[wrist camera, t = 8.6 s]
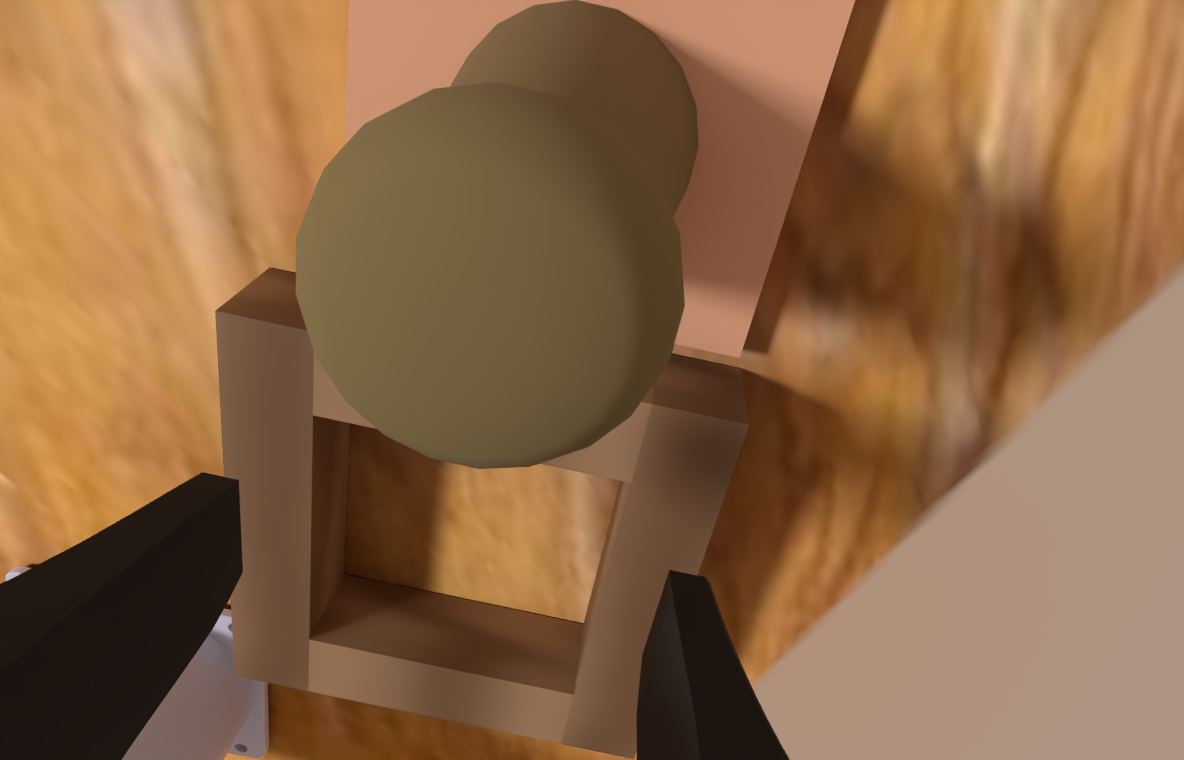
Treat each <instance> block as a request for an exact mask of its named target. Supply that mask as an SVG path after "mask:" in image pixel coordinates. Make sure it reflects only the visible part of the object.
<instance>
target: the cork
mask: <svg viewBox="0 0 1184 760" xmlns="http://www.w3.org/2000/svg"><path fill="white" fill-rule="evenodd" d="M697 151H698V128H697V108H696V103H695V101H694V98H693V96H692V93H691V90H690V88H689V85H688V82H687V80H686V77H685V74H684V72H683V69H682V67H681V65H680V64H679V63H678V61H677V60H676V59H675V58H674V56H673V55H672V54H671V53H670V51H669V50H668V49H667V48H666V46H665V45H664V44H663V43H662V42H661V40H660V39H659V38H658V37H657V35H656V34H655V33H654V32H653V31H651V30H650V29H648V28H646V27H645V26H643V25H642V24H640V23H639V22H637V21H635V20H634V19H632V18H631V17H629V16H627V15H626V14H624V13H623V12H621V11H620V10H618V9H614V8H610V7H605V6H601V5H597V4H592V3H588V2H583V1H579V0H570V1H562V2H554V3H546V4H538V5H533V6H531V7H529V8H527V9H525V10H523V11H521V12H519V13H518V14H516V15H514V16H512V17H510V18H508V19H506V20H504V21H502V22H500V23H498V24H497V25H496V26H495V27H494V28H493V29H492V30H491V31H490V32H489V33H488V34H487V35H486V36H485V38H484V39H483V40H482V41H481V42H480V43H479V44H478V45H477V46H476V47H475V48H474V49H473V50H472V52H471V53H470V54H469V55H468V57H467V58H466V60H465V62H464V63H463V65H462V67H461V69H460V70H459V72H458V74H457V75H456V77H455V79H454V80H453V82H452V84H451V86H450V87H444V88H435V89H432V90H430V91H428V92H426V93H424V94H422V95H420V96H418V97H416V98H414V99H412V100H410V101H408V102H406V103H404V104H402V105H400V106H398V107H396V108H394V109H392V110H390V111H388V112H386V113H384V114H382V115H380V116H378V117H377V118H375V119H373V120H371V121H369V122H367V123H365V124H364V125H363V126H362V127H361V128H360V129H359V130H358V131H357V132H356V134H355V135H354V136H353V137H352V138H351V139H350V140H349V141H348V142H347V144H346V145H345V146H344V147H343V148H342V149H341V150H340V151H339V152H338V154H337V155H336V156H335V157H334V158H333V159H332V160H331V161H330V162H329V164H328V165H327V166H326V167H325V168H324V170H323V172H322V175H321V177H320V179H319V181H318V184H317V186H316V188H315V191H314V194H313V196H312V199H311V201H310V204H309V207H308V209H307V212H306V215H305V217H304V220H303V222H302V225H301V228H300V230H299V233H298V236H297V238H296V297H297V300H298V303H299V306H300V309H301V312H302V316H303V319H304V322H305V325H306V328H307V331H308V335H309V338H310V341H311V344H312V347H313V350H314V352H315V355H316V358H317V360H318V361H319V363H320V364H321V366H322V367H323V369H324V370H325V372H326V373H327V375H328V376H329V378H330V379H331V381H332V382H333V383H334V385H335V386H336V388H337V389H338V391H339V392H340V394H341V395H342V397H343V398H344V400H345V401H346V402H347V403H348V404H349V405H350V406H351V407H353V408H354V409H355V410H356V411H357V412H358V413H360V414H361V415H362V416H363V417H364V418H365V419H366V420H368V421H369V422H370V423H371V424H372V425H373V426H375V427H376V428H377V429H378V430H379V431H380V432H382V433H383V434H384V435H385V436H387V437H389V438H391V439H393V440H395V441H397V442H399V443H401V444H403V445H405V446H407V447H409V448H411V449H413V450H415V451H417V452H419V453H421V454H423V455H425V456H427V457H429V458H432V459H437V460H441V461H446V462H450V463H455V464H460V465H464V466H469V467H473V468H478V469H488V468H510V467H529V466H533V465H536V464H540V463H543V462H546V461H549V460H552V459H555V458H558V457H561V456H564V455H567V454H570V453H572V452H575V451H578V450H581V449H584V448H587V447H590V446H591V445H592V444H594V443H595V442H597V441H598V440H599V439H601V438H602V437H603V436H605V435H606V434H608V433H609V432H610V431H612V430H613V429H615V428H616V427H617V426H619V425H620V424H621V423H623V422H624V421H626V420H627V419H628V418H630V417H631V416H632V414H633V413H634V411H635V410H636V408H637V407H638V406H639V404H640V403H641V401H642V400H643V399H644V397H645V396H646V394H647V393H648V392H649V390H650V389H651V387H652V386H653V384H654V383H655V382H656V380H657V379H658V377H659V376H660V375H661V373H662V371H663V370H664V368H665V366H666V365H667V363H668V361H669V360H670V357H671V354H672V350H673V346H674V343H675V339H676V336H677V332H678V329H679V325H680V322H681V318H682V315H683V311H684V307H685V300H684V285H683V270H682V255H681V240H680V232H679V229H678V227H677V225H676V222H675V220H674V215H675V213H676V211H677V208H678V206H679V204H680V202H681V200H682V198H683V196H684V194H685V192H686V190H687V188H688V185H689V181H690V178H691V174H692V170H693V166H694V162H695V159H696V155H697Z"/></svg>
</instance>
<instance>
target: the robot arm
mask: <svg viewBox="0 0 1184 760" xmlns="http://www.w3.org/2000/svg"><path fill="white" fill-rule="evenodd" d="M242 573H243V563H242V539H241V516H240V492H239V480H236V479H232V478H227V477H222V476H217V475H212V474H208V473H203V472H202V473H201V474H199V475H197V476H195V477H193V478H192V479H190V480H188V481H186V482H185V483H183V484H181V485H179V486H178V487H176V488H174V489H173V490H171V491H169V492H167V493H166V494H164V495H162V496H161V497H159V498H157V499H156V500H154V501H152V502H151V503H149V504H147V505H145V506H144V507H142V508H140V509H139V510H137V511H135V512H134V513H132V514H130V515H128V516H127V517H125V518H123V519H121V520H120V521H118V522H116V523H114V524H113V525H111V526H109V527H107V528H106V529H104V530H102V531H100V532H99V533H97V534H95V535H93V536H92V537H90V538H88V539H86V540H85V541H83V542H81V543H79V544H77V545H75V546H73V547H71V548H70V549H68V550H66V551H64V552H62V553H60V554H58V555H56V556H54V557H52V558H50V559H48V560H46V561H44V562H43V563H41V564H39V565H37V566H35V567H33V568H28V567H22V566H17V567H14V568H13V569H12V570H11V571H10V572H9V573H8V574H7V575H6V581H5V582H3V583H1V584H0V760H224V758H225V756H226V755H227V753H228V752H229V753H234V754H239V755H244V756H249V757H253V758H259V757H263V756H264V755H265V754H266V752H267V750H268V748H269V717H268V683H266V682H261V681H256V680H252V679H247V678H242V677H237V676H235V672H234V653H233V634H232V615H231V610H229V609H224V608H225V606H226V604H227V602H228V601H229V599H230V597H231V595H232V593H233V591H234V589H235V587H236V585H237V583H238V581H239V579H240V577H241V575H242ZM636 721H637V760H789V758H788V756H787V754H786V753H785V751H784V749H783V747H782V745H781V744H780V742H779V740H778V738H777V736H776V734H775V733H774V731H773V729H772V727H771V725H770V723H769V721H768V719H767V718H766V715H765V713H764V711H763V709H762V707H761V705H760V703H759V701H758V699H757V697H756V695H755V693H754V691H753V689H752V686H751V684H750V682H749V680H748V678H747V676H746V673H745V671H744V669H743V667H742V665H741V663H740V660H739V658H738V656H737V653H736V651H735V649H734V646H733V644H732V641H731V639H730V637H729V634H728V632H727V629H726V627H725V624H724V621H723V619H722V616H721V614H720V611H719V608H718V605H717V603H716V600H715V597H714V594H713V591H712V588H711V585H710V583H709V582H708V580H707V579H706V577H702V576H697V575H692V574H687V573H683V572H678V571H673V570H669V573H668V576H667V579H666V582H665V585H664V588H663V591H662V595H661V598H660V601H659V604H658V607H657V610H656V613H655V617H654V620H653V623H652V626H651V629H650V632H649V635H648V639H647V642H646V645H645V648H644V651H643V654H642V663H641V672H640V682H639V692H638V703H637V714H636Z"/></svg>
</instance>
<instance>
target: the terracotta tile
mask: <svg viewBox="0 0 1184 760" xmlns="http://www.w3.org/2000/svg"><path fill="white" fill-rule="evenodd" d="M562 1H570V0H349V19H348V49H347V80H346V110H345V140H344V146H345V145H346V144H347V142H348V141H349V140H350V139H351V138H352V137H353V136H354V135H355V134H356V132H357V131H358V130H359V129H360V128H361V127H362V126H363V125H364V124H365V123H367V122H369V121H371V120H373V119H375V118H377V117H378V116H380V115H382V114H384V113H386V112H388V111H390V110H392V109H394V108H396V107H398V106H400V105H402V104H404V103H406V102H408V101H410V100H412V99H414V98H416V97H418V96H420V95H422V94H424V93H426V92H428V91H430V90H432V89H435V88H444V87H450V86H451V84H452V82H453V80H454V79H455V77H456V75H457V74H458V72H459V70H460V69H461V67H462V65H463V63H464V62H465V60H466V58H467V57H468V55H469V54H470V53H471V52H472V50H473V49H474V48H475V47H476V46H477V45H478V44H479V43H480V42H481V41H482V40H483V39H484V38H485V36H486V35H487V34H488V33H489V32H490V31H491V30H492V29H493V28H494V27H495V26H496V25H497V24H498V23H500V22H502V21H504V20H506V19H508V18H510V17H512V16H514V15H516V14H518V13H519V12H521V11H523V10H525V9H527V8H529V7H531V6H533V5H538V4H546V3H554V2H562ZM579 1H583V2H588V3H592V4H597V5H601V6H605V7H610V8H614V9H618V10H620V11H621V12H623V13H624V14H626V15H627V16H629V17H631V18H632V19H634V20H635V21H637V22H639V23H640V24H642V25H643V26H645V27H646V28H648V29H650V30H651V31H653V32H654V33H655V34H656V35H657V37H658V38H659V39H660V40H661V42H662V43H663V44H664V45H665V46H666V48H667V49H668V50H669V51H670V53H671V54H672V55H673V56H674V58H675V59H676V60H677V61H678V63H679V64H680V65H681V67H682V69H683V72H684V74H685V77H686V80H687V82H688V85H689V88H690V90H691V93H692V96H693V98H694V101H695V103H696V108H697V128H698V151H697V155H696V159H695V162H694V166H693V170H692V174H691V178H690V181H689V185H688V188H687V190H686V192H685V194H684V196H683V198H682V200H681V202H680V204H679V206H678V208H677V211H676V213H675V215H674V220H675V222H676V225H677V227H678V229H679V232H680V240H681V255H682V270H683V285H684V300H685V307H684V311H683V315H682V318H681V322H680V325H679V329H678V332H677V336H676V339H675V343H674V344H677V345H681V346H686V347H691V348H695V349H700V350H705V351H709V352H714V353H719V354H723V355H728V356H733V357H737V358H740V356H741V352H742V349H743V346H744V343H745V340H746V337H747V334H748V331H749V328H750V325H751V321H752V318H753V315H754V312H755V309H756V306H757V303H758V300H759V297H760V294H761V291H762V287H763V284H764V281H765V278H766V275H767V272H768V269H769V266H770V263H771V260H772V256H773V253H774V250H775V247H776V244H777V241H778V238H779V235H780V232H781V229H782V226H783V222H784V219H785V216H786V213H787V210H788V207H789V204H790V201H791V198H792V195H793V192H794V188H795V185H796V182H797V179H798V176H799V173H800V170H801V167H802V164H803V161H804V157H805V154H806V151H807V148H808V145H809V142H810V139H811V136H812V133H813V130H814V127H815V123H816V120H817V117H818V114H819V111H820V108H821V105H822V102H823V99H824V96H825V93H826V89H827V86H828V83H829V80H830V77H831V74H832V71H833V68H834V65H835V62H836V58H837V55H838V52H839V49H840V46H841V43H842V40H843V37H844V34H845V31H846V28H847V24H848V21H849V18H850V15H851V12H852V9H853V6H854V3H855V0H579Z"/></svg>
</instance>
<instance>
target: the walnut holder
mask: <svg viewBox="0 0 1184 760" xmlns="http://www.w3.org/2000/svg"><path fill="white" fill-rule="evenodd" d="M215 312H216V331H217V350H218V369H219V388H220V407H221V426H222V445H223V464H224V477H227V478H232V479H236V480H239V492H240V516H241V539H242V563H243V573H242V575H241V577H240V579H239V581H238V583H237V585H236V587H235V589H234V591H233V593H232V595H231V615H232V634H233V653H234V672H235V676H237V677H242V678H247V679H252V680H256V681H261V682H266V683H271V684H276V685H281V686H285V687H290V688H295V689H300V690H305V691H309V692H314V693H319V694H324V695H329V696H333V697H338V698H343V699H348V700H353V701H357V702H362V703H367V704H372V705H377V706H381V707H386V708H391V709H396V710H401V711H405V712H410V713H415V714H420V715H425V716H429V717H434V718H439V719H444V720H449V721H454V722H458V723H463V724H468V725H473V726H478V727H482V728H487V729H492V730H497V731H502V732H506V733H511V734H516V735H521V736H526V737H530V738H535V739H540V740H545V741H550V742H554V743H559V744H564V745H569V746H574V747H578V748H583V749H588V750H593V751H598V752H602V753H607V754H612V755H617V756H622V757H626V758H631V759H634V757H635V754H636V751H637V721H636V714H637V703H638V692H639V682H640V672H641V663H642V654H643V651H644V648H645V645H646V642H647V639H648V635H649V632H650V629H651V626H652V623H653V620H654V617H655V613H656V610H657V607H658V604H659V601H660V598H661V595H662V591H663V588H664V585H665V582H666V579H667V576H668V573H669V570H673V571H678V572H683V573H687V574H692V575H698V573H699V570H700V567H701V564H702V561H703V558H704V555H705V552H706V550H707V547H708V544H709V541H710V538H711V535H712V532H713V529H714V527H715V524H716V521H717V518H718V515H719V512H720V509H721V506H722V503H723V501H724V498H725V495H726V492H727V489H728V486H729V483H730V480H731V478H732V475H733V472H734V469H735V466H736V463H737V460H738V457H739V455H740V452H741V449H742V446H743V443H744V440H745V437H746V434H747V431H748V429H749V426H750V423H749V417H748V410H747V404H746V397H745V391H744V384H743V378H742V371H741V369H740V368H736V367H731V366H726V365H722V364H717V363H712V362H708V361H703V360H698V359H694V358H689V357H684V356H680V355H675V354H671V357H670V360H669V361H668V363H667V365H666V366H665V368H664V370H663V371H662V373H661V375H660V376H659V377H658V379H657V380H656V382H655V383H654V384H653V386H652V387H651V389H650V390H649V392H648V393H647V394H646V396H645V397H644V399H643V400H642V401H641V403H640V404H639V406H638V407H637V408H636V410H635V411H634V413H633V414H632V416H631V417H630V418H628V419H627V420H626V421H624V422H623V423H621V424H620V425H619V426H617V427H616V428H615V429H613V430H612V431H610V432H609V433H608V434H606V435H605V436H603V437H602V438H601V439H599V440H598V441H597V442H595V443H594V444H592V445H591V446H590V447H587V448H584V449H581V450H578V451H575V452H572V453H570V454H567V455H564V456H561V457H558V458H555V459H552V460H549V461H546V462H543V463H540V464H545V465H549V466H554V467H559V468H563V469H568V470H573V471H578V472H582V473H587V474H592V475H596V476H601V477H606V478H611V479H615V480H620V481H621V482H620V486H619V490H618V494H617V498H616V502H615V505H614V509H613V513H612V517H611V521H610V525H609V528H608V532H607V536H606V540H605V544H604V548H603V551H602V555H601V559H600V563H599V567H598V571H597V574H596V578H595V582H594V586H593V590H592V594H591V597H590V601H589V605H588V609H587V613H586V617H585V621H584V624H580V623H575V622H571V621H566V620H561V619H556V618H552V617H547V616H542V615H537V614H533V613H528V612H523V611H518V610H514V609H509V608H504V607H499V606H494V605H490V604H485V603H480V602H475V601H471V600H466V599H461V598H456V597H452V596H447V595H442V594H437V593H433V592H428V591H423V590H418V589H414V588H409V587H404V586H399V585H394V584H390V583H385V582H380V581H375V580H371V579H366V578H361V577H356V576H352V575H347V574H344V561H345V539H346V517H347V494H348V472H349V450H350V428H351V424H356V425H361V426H365V427H370V428H375V429H377V428H376V427H375V426H373V425H372V424H371V423H370V422H369V421H368V420H366V419H365V418H364V417H363V416H362V415H361V414H360V413H358V412H357V411H356V410H355V409H354V408H353V407H351V406H350V405H349V404H348V403H347V402H346V401H345V400H344V398H343V397H342V395H341V394H340V392H339V391H338V389H337V388H336V386H335V385H334V383H333V382H332V381H331V379H330V378H329V376H328V375H327V373H326V372H325V370H324V369H323V367H322V366H321V364H320V363H319V361H318V360H317V358H316V355H315V352H314V350H313V347H312V344H311V341H310V338H309V335H308V331H307V328H306V325H305V322H304V319H303V316H302V312H301V309H300V306H299V303H298V300H297V297H296V273H292V272H287V271H283V270H278V269H273V268H269V269H267V270H266V271H265V272H264V273H262V274H261V275H260V276H259V277H257V278H256V279H255V280H254V281H252V282H251V283H250V284H249V285H247V286H246V287H245V288H244V289H242V290H241V291H240V292H239V293H237V294H236V295H235V296H234V297H232V298H231V299H230V300H229V301H227V302H226V303H225V304H223V305H222V306H221V307H220V308H218V309H217V310H216V311H215Z"/></svg>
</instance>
